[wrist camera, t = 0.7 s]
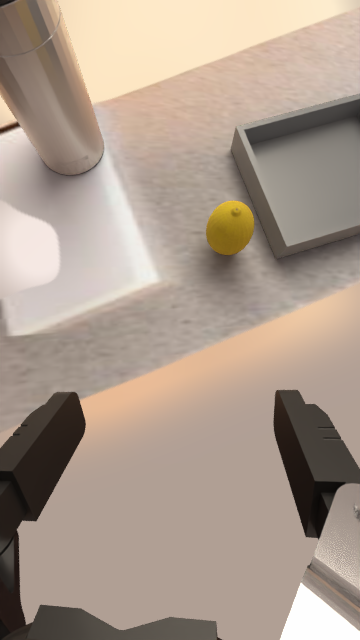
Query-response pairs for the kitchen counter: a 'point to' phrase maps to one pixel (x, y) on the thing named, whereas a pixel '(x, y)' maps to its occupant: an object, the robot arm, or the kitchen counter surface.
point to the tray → (304, 174)
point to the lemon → (230, 227)
